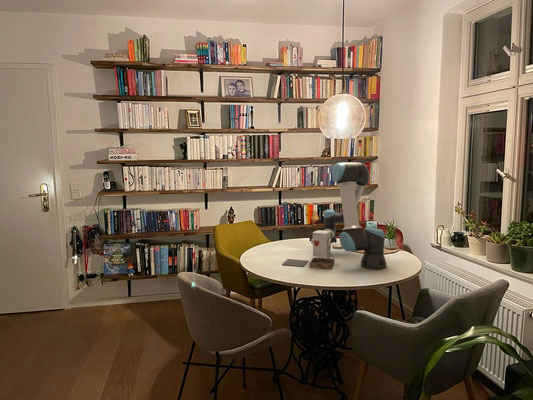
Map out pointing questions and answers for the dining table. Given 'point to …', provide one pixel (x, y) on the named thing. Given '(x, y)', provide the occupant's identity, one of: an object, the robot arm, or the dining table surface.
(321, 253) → the supplement box
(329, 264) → the walnut holder
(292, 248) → the dining table surface
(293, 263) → the charcoal mat
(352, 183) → the robot arm
